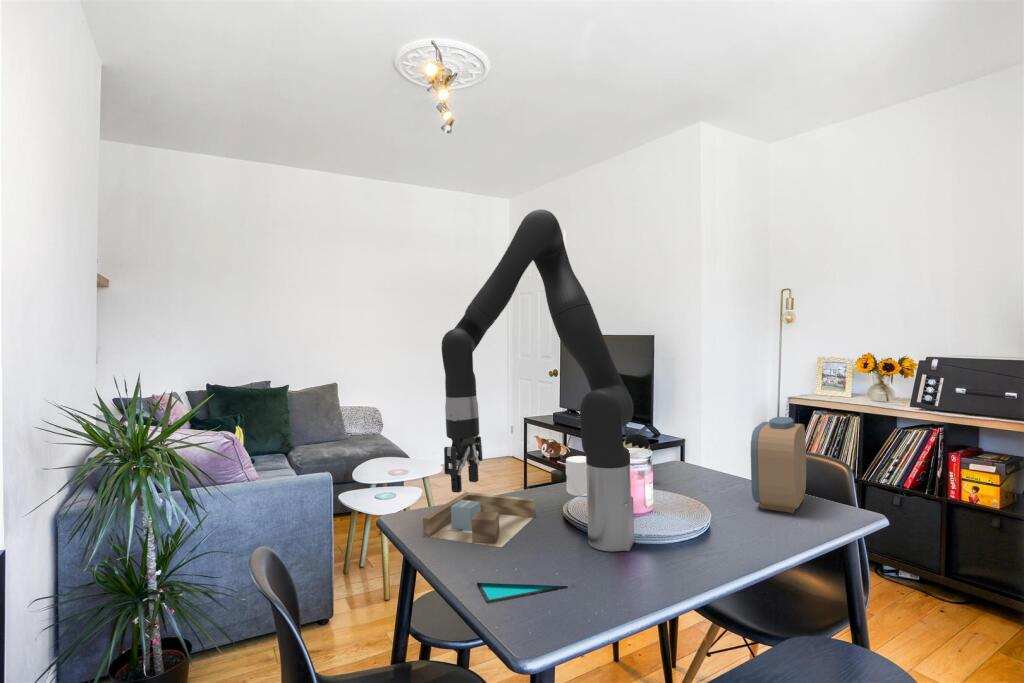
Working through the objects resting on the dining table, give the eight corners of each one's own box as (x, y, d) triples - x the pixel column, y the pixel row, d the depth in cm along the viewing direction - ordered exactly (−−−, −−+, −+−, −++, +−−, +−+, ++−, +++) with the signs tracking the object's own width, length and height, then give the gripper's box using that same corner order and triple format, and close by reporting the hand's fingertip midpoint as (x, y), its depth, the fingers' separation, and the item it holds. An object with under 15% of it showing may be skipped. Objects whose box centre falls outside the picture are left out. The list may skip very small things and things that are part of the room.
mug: (559, 457, 153) (582, 454, 156) (559, 490, 153) (582, 485, 156) (582, 466, 142) (606, 462, 146) (583, 501, 142) (607, 496, 146)
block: (462, 520, 125) (461, 499, 125) (481, 523, 123) (480, 501, 123) (451, 528, 121) (450, 505, 121) (470, 530, 119) (470, 508, 119)
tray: (535, 520, 128) (535, 499, 128) (501, 552, 110) (501, 527, 110) (466, 512, 136) (465, 492, 136) (423, 541, 117) (422, 517, 117)
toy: (650, 481, 158) (649, 431, 158) (654, 488, 151) (653, 436, 151) (621, 481, 159) (620, 432, 159) (623, 488, 152) (622, 436, 152)
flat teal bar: (476, 581, 96) (552, 568, 101) (476, 586, 96) (553, 572, 101) (487, 601, 89) (568, 585, 94) (487, 606, 89) (568, 590, 94)
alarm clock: (767, 490, 146) (765, 412, 146) (806, 496, 141) (805, 415, 140) (751, 512, 130) (749, 424, 129) (795, 519, 124) (793, 427, 124)
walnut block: (499, 534, 117) (498, 512, 117) (495, 543, 112) (494, 520, 112) (477, 534, 117) (476, 511, 117) (472, 543, 112) (471, 519, 112)
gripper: (461, 411, 129) (465, 478, 129) (431, 420, 116) (435, 494, 116) (489, 411, 126) (493, 479, 126) (462, 421, 113) (466, 496, 113)
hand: (465, 486), depth 121 cm, fingers open, 8 cm apart
